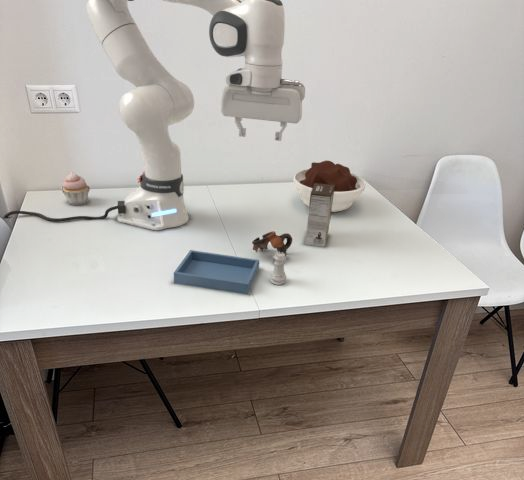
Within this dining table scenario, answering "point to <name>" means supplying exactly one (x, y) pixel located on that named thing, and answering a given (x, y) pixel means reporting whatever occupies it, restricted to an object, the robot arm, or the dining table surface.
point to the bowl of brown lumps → (330, 183)
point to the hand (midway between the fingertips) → (260, 138)
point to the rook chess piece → (278, 269)
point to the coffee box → (319, 214)
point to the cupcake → (75, 189)
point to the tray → (217, 271)
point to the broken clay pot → (273, 242)
